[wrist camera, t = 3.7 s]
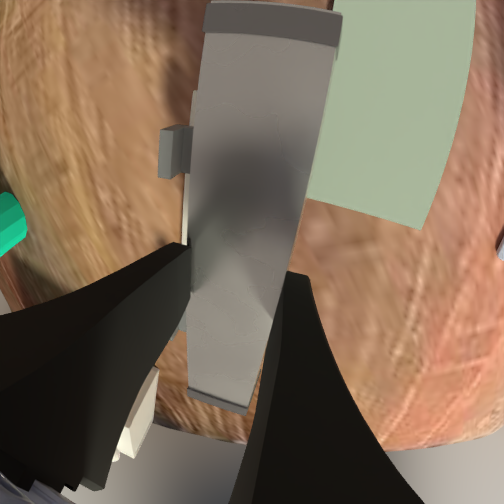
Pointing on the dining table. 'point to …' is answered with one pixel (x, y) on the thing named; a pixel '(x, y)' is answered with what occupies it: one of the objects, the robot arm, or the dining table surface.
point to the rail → (250, 180)
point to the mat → (393, 105)
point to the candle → (11, 222)
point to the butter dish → (139, 417)
